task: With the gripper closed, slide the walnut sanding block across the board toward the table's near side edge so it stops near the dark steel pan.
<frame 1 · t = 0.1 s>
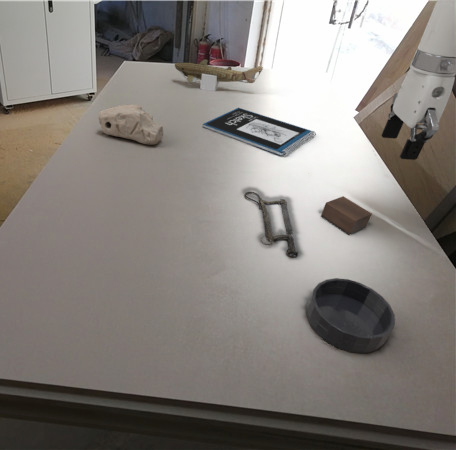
hand: (397, 147, 84), 18 cm above the table, tool pointing down, fingers open, 9 cm apart
pan: (345, 321, 70), on the table
wood carving: (214, 89, 164), on the table
decorative stone: (130, 138, 125), on the table
sketchbook: (258, 132, 132), on the table
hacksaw: (267, 223, 93), on the table
sanding block: (343, 222, 94), on the table
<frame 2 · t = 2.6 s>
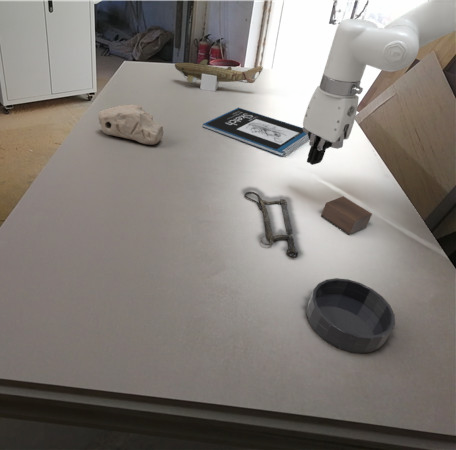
hand: (313, 162, 96), 10 cm above the table, tool pointing down, fingers closed
nothing on the table moved.
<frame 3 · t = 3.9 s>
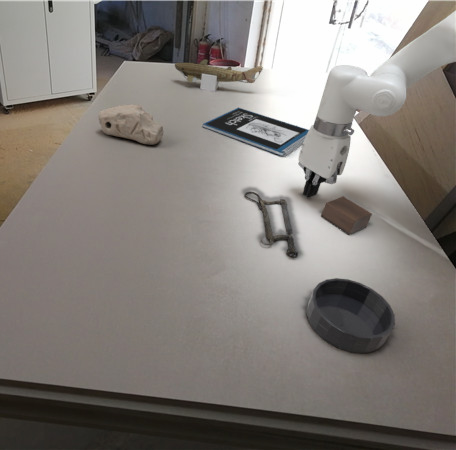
hand: (309, 194, 100), 1 cm above the table, tool pointing down, fingers closed
nothing on the table moved.
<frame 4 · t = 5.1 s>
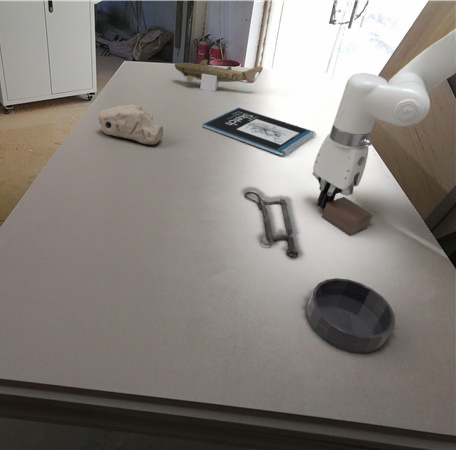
hand: (323, 205, 97), 1 cm above the table, tool pointing down, fingers closed
sanding block: (343, 222, 94), on the table, touching gripper
everything else where it was.
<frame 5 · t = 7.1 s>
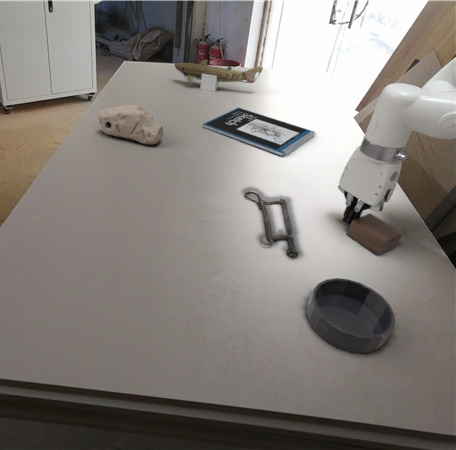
hand: (349, 221, 92), 1 cm above the table, tool pointing down, fingers closed
sanding block: (370, 241, 89), on the table, touching gripper
everything else where it was.
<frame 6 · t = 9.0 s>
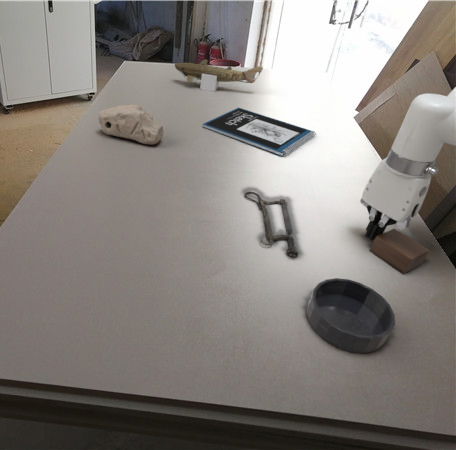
hand: (371, 236, 88), 1 cm above the table, tool pointing down, fingers closed
sanding block: (394, 257, 84), on the table, touching gripper
everything else where it was.
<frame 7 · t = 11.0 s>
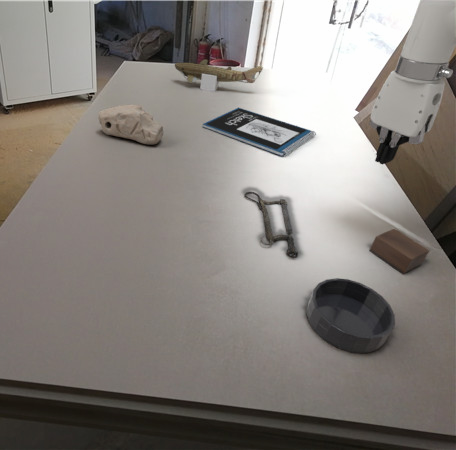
hand: (382, 161, 83), 17 cm above the table, tool pointing down, fingers closed
sanding block: (394, 257, 84), on the table
everything else where it was.
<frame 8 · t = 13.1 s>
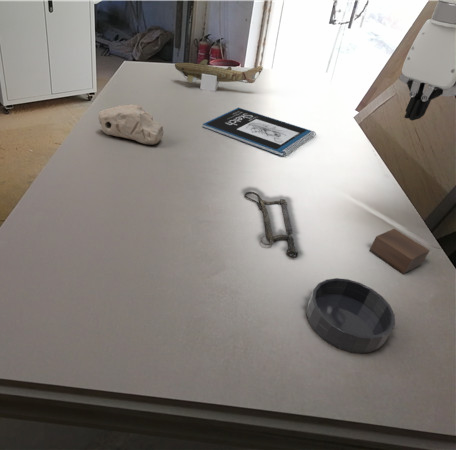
hand: (412, 117, 80), 25 cm above the table, tool pointing down, fingers closed
nothing on the table moved.
at the end: sanding block inside the target area (0.7 cm from its centre), on the table; sanding block 24.3 cm from the pan (horizontally); sanding block moved 13.7 cm from its start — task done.
